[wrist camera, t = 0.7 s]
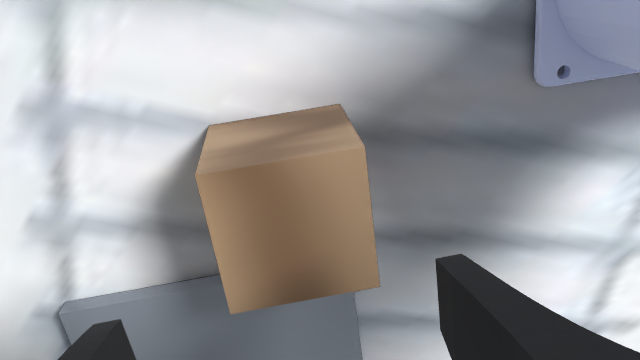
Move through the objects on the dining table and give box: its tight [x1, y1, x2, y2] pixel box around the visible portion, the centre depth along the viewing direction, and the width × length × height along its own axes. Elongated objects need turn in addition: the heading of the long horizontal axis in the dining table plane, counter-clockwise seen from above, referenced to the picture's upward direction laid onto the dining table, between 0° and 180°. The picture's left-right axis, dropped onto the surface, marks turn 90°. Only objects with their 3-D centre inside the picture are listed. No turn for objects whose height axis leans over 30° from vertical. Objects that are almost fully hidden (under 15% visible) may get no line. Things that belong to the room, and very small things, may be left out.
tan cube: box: [195, 104, 380, 314], centre depth 18 cm, size 5×5×5 cm
